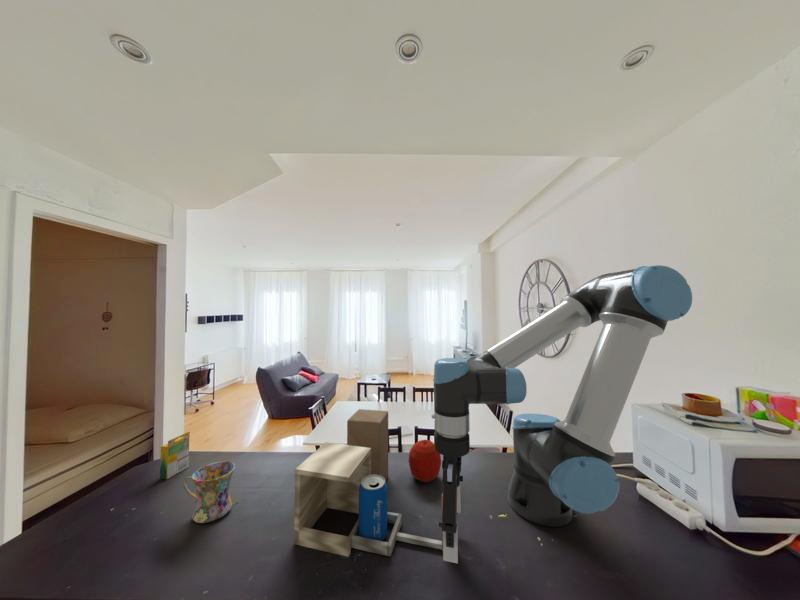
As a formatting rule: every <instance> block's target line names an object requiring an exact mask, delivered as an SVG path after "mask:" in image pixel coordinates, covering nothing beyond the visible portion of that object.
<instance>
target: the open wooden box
mask: <svg viewBox="0 0 800 600" xmlns="http://www.w3.org/2000/svg"><path fill="white" fill-rule="evenodd" d="M368 475H371V448H367V447H359V446H351V445H347V444H344V443H343V444H342V443H336V442H335V443H334V442H324V443H323V444H322V445H321V446H320V447H318V448H317V449H316V450H315V451H314V452H313V453H312V454H311V455H309V456H308V457H307V458H306V459H305V460H304V461H303V462H301V463H300V464H299V465H298V466H297V467H295V468H294V509H293V511H294V513H293V515H294V517H293V518H294V519H293V522H294V523H293V545H297V546H301V547H304V548H310V549H314V550H317V551H322V552H327V553H331V554H335V555H338V556H339V555H340V556H343V557H347V558H348V557H350V555H351V551H352V548H351V537H348V536H347V535H342V534H338V533H333V532H329V531H328V532H327V531H323V530H318V529H314V528H313V527H314V525H315V524H316V522H317V521H318V520H319V519H320V517H321V516H322V515H323V513H324V512H325V510H326V509H332V510H337V511H342V512H348V513H352V514H353V513H354V514H358V515H359V486H360V484H361V480H362V479H363V478H364V477H366V476H368Z"/></svg>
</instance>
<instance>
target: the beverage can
mask: <svg viewBox="0 0 800 600" xmlns="http://www.w3.org/2000/svg"><path fill="white" fill-rule="evenodd" d="M387 512H388V484H387V482H385V479H384V477H382V476H380V475H375V474H373V475H368V476H366V477H364V478H363V479H362V480H361V484H360V486H359V514H358V518H359V534H358V536H359V537H364V538H369V539H374V540H378V541H383V540H384V539H385V538H386V537H387V534H388V523H387Z"/></svg>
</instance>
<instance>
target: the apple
mask: <svg viewBox="0 0 800 600" xmlns="http://www.w3.org/2000/svg"><path fill="white" fill-rule="evenodd" d="M408 465H409V468H410V473H411V475H412V476H413V477H414V478H416V479H417V480H418V481H420V482H421V483H431V482H432V481H434V479H436V478H437V477H438V476H439V474H440V471H441V468H442V455H441V454H440V453H438V452H437V451H436V450H435V447H434V441H431V440H429V439H422V440H421V439H420V440H418V441H416V442H415V443H414V444H413V445H412V446H411V448H410V450H409V454H408Z"/></svg>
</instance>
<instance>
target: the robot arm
mask: <svg viewBox="0 0 800 600" xmlns="http://www.w3.org/2000/svg"><path fill="white" fill-rule="evenodd" d="M692 304H693V293H692V289H691V286H690V285H689V284H688V282H687V279H686V278H685V277H684V275H683V274H681V273H680V272H679V271H678V270H676V269H674V268H672V267H669V266H666V265H659V264H657V265H649V266H647V265H646V266H645V265H642V266H639V267H636V268H633V269H626V270H621V271H615V272H609V273H605V274H601V275H598V276H596V277H594V278H592V279H591V280H588V281H586V283H583V284H581V285H580V286H578V287H577V288H576V289H574V290H573V291H571V292H570V293H568V294H566V295H565V296H563V297H562V298H561V299H560V301H559V304H558V305H556V306H555V307H552V308H551V309H550V310H549V311H547V312H545V313H544V314H542V315H540V316H539V317H537V318H536V319H534V320H532V321H531V322H530V323H527V325H525V326H523V327H522V328H520V329H519V330H517V331H515V332H514V333H512V334H510V336H507V337H506V338H504V339H503V340H502V341H499V342H498V343H497V344H495V345H494V346H491V347H490V348H488V349H487V350H485V351H483V352H482V353H480V354H478V356H468V357H466V358H465V359H463V358H459V357H458V358H457V357H455V358H454V357H445V358H444V357H443V358H440V359H437V360H436V361H435V363H434V368H433V370H434V371H433V379H432V380H433V408H434V409H433V410H434V411H433V412H434V413H432V414H431V419H432V420H433V419H434V421H433V422H434V430H435V431H434V434H433V435H434V436H433V437H434V441H433V443H434V447H435V450H436V451H437V452H438V453H440V455H441V456H442V459H441V468H442V484H443V485H442V487H443V488H442V493H443V513H442V512H441V522H440V521H439V522H438V527H439V528H441V532H442V531H443V551H442V559H443V561H444V562H449V563H454V564H459V549H458V548H459V547H458V546H459V545H458V543H459V542H458V541H459V540H458V538H459V537H458V535H459V534H458V533H459V532H458V523H457V524H456V521H457V522H458V515H457V514H461V511H462V509H461V507H462V505H461V483H462V482H464V477H463V475H461V472H462V461H463V460H462V459H463V458H462V457H465V456H466V455H468V454H469V452H470V448H471V445H470V444H471V442H470V441H471V439H470V433H469V432H470V429H471V428H470V423H471V422H470V405H479V404H481V405H482V404H483V405H484V404H485V405H493V404H494V405H497V404H498V405H511V404H512V405H513V404H519V403H522V402H524V400H525V399H526V396H527V381H526V378H525V375H524V374H523V372H522V371H521V370H520V369H518V368H517V367H518V366H520V365H522V364H523V363H525V362H527V361H528V360H530V359H531V358H532V357H534V356H536V355H537V354H539V353H541V352H542V351H544V350H545V349H547V348H548V347H550V346H552V345H553V344H555V343H556V342H558V341H560V340H561V339H563V338H564V337H566V336H567V335H569V334H571V333H573V331H575V330H577V329H578V328H580V327H581V328H588V327H589V326H591V325H593V324H594V323H596V322H599V321H601V323H602V328H601V331H600V333H599V334H598V338H597V340H596V342H595V345H594V347H593V350H592V352H591V355H590V358H589V359H588V362H587V365H586V367H585V369H584V372H583V373H582V374H583V375H582V377H581V379H580V382H579V384H578V387H577V389H576V391H575V394H574V397H573V399H572V401H571V404H570V405H569V406H570V407H569V409H568V411H567V414H566V416H565V418H564V419H563V420H560V419H559V418H558V417H556V416H553V415H549V414H542V413H520V414H517V415H515V416H514V418H513V421H512V422H513V425H512V432H513V433H512V437H513V440H512V441H513V469H514V470H513V472H512V476H511V479H510V482H509V483H508V484H509V485H508V488H507V501H508V504H509V506H510V507H511V508H512V509H513V511H514V512H515V513H517V514H518V515H519V516H521V517H522V518H524V519H526V520H528V522H532V523H534V524H537V525H539V526H544V527H551V528H552V527H553V528H554V527H555V528H556V527H563V526H566V525H568V524H569V523H570V522H571V521H572V519H573V511H575V512H577V513H580V514H587V515H588V514H590V515H591V514H596V513H598V512H603V511H605V510H606V509H608V508H609V507H611V506H612V505H613V504H614V503H615V501H616V500H617V497H618V495H619V493H620V492H619V491H620V481H619V479H618V478H619V477H618V475H617V473H616V471H615V470H614V467H612V464H613V462H614V460H615V457H616V453H615V451H614V450H613V447H612V446H611V441H612V438H613V435H614V433H615V431H616V427H617V425H618V423H619V421H620V417H621V416H622V412H623V410H624V407H625V405H626V402H627V400H628V397H629V395H630V393H631V390H632V387H633V384H634V382H635V379H636V376H637V374H638V372H639V370H640V366H641V364H642V361H643V359H644V357H645V354H646V351H647V349H648V346H649V344H650V341H651V339H652V338H655V337H656V338H657V337H658V336H662V335H663V334H664V332H665V330H666V328H667V327H666V326H667V325H668V322H669V321H670V322H672V321H675V320H678V319H680V318H681V317H682V318H683V317H684V316H685V315H687V314H688V313H689V311H690V309H691V307H692Z"/></svg>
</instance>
